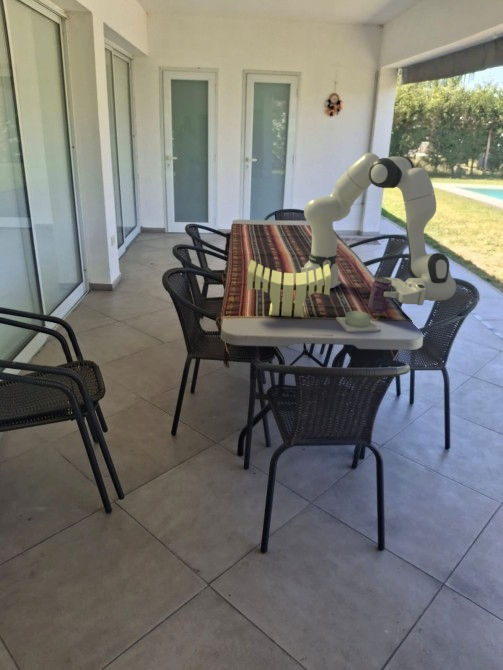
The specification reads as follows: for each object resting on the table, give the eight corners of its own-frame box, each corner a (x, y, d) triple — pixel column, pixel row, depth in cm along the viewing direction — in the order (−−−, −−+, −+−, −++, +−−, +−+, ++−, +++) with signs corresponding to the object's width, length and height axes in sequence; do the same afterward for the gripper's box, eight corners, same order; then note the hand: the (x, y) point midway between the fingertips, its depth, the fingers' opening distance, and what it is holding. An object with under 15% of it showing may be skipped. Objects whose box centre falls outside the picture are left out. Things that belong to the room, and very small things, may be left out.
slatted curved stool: (246, 316, 183) (247, 270, 176) (249, 302, 198) (251, 259, 190) (326, 321, 181) (331, 275, 174) (324, 306, 196) (328, 263, 189)
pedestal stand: (336, 319, 184) (337, 309, 182) (366, 318, 186) (367, 309, 184) (347, 331, 173) (348, 322, 171) (379, 330, 175) (380, 321, 173)
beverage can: (382, 307, 190) (389, 277, 185) (388, 314, 183) (395, 283, 179) (365, 305, 189) (371, 276, 184) (370, 312, 183) (377, 282, 178)
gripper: (402, 273, 193) (369, 273, 191) (427, 290, 175) (391, 291, 172) (399, 288, 196) (367, 289, 193) (424, 307, 177) (389, 307, 175)
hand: (379, 290), depth 183 cm, fingers closed on beverage can, 6 cm apart
